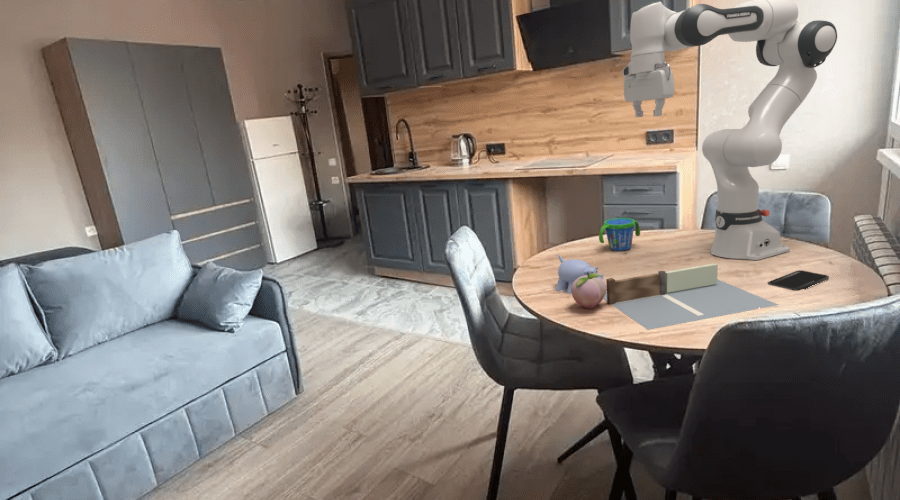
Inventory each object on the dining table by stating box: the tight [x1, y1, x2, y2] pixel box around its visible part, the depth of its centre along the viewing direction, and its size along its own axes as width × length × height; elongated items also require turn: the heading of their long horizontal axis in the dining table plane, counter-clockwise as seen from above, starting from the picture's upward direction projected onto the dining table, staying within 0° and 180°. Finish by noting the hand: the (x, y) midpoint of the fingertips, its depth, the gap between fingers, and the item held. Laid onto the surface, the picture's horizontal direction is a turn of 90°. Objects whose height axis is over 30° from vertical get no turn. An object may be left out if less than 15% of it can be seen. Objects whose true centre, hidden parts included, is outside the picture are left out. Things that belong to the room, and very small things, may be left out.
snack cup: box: [598, 217, 641, 252], centre depth 177 cm, size 16×10×10 cm
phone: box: [767, 270, 830, 292], centre depth 131 cm, size 8×1×15 cm
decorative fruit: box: [571, 273, 607, 309], centre depth 129 cm, size 9×8×10 cm
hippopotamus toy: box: [555, 254, 604, 295], centre depth 143 cm, size 11×15×10 cm
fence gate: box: [665, 262, 719, 293], centre depth 133 cm, size 15×1×6 cm, turn 100°
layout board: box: [603, 278, 779, 331], centre depth 128 cm, size 34×26×1 cm
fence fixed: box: [605, 270, 666, 305], centre depth 131 cm, size 16×2×7 cm, turn 100°
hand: (648, 116), depth 143 cm, fingers open, 8 cm apart
